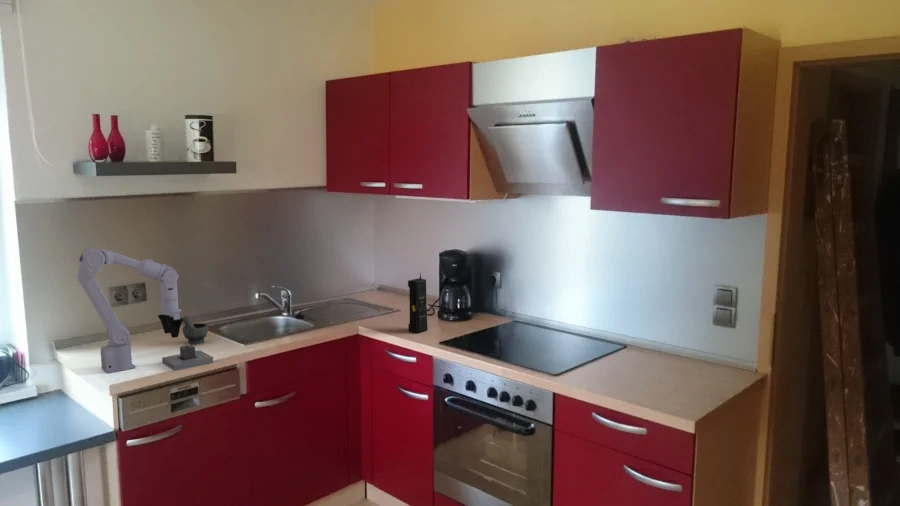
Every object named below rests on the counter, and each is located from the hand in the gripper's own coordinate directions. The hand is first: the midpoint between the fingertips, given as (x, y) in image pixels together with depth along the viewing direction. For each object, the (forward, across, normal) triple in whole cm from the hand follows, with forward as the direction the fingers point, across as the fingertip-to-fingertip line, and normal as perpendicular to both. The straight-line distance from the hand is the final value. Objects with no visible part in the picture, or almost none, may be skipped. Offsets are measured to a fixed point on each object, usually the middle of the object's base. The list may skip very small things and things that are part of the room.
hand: (171, 335), depth 244 cm
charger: (+9, -8, -3) cm, 12 cm away
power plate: (+9, -8, -3) cm, 12 cm away
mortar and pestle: (+10, +17, -14) cm, 24 cm away
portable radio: (+9, -28, -94) cm, 99 cm away
